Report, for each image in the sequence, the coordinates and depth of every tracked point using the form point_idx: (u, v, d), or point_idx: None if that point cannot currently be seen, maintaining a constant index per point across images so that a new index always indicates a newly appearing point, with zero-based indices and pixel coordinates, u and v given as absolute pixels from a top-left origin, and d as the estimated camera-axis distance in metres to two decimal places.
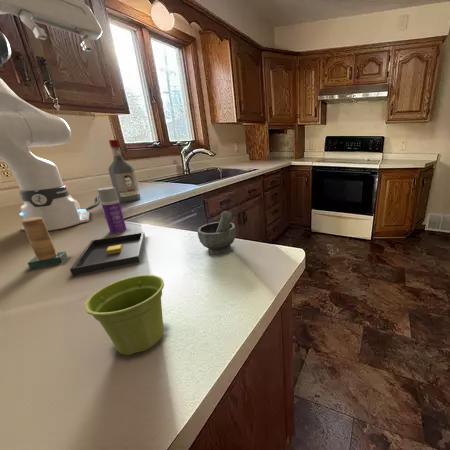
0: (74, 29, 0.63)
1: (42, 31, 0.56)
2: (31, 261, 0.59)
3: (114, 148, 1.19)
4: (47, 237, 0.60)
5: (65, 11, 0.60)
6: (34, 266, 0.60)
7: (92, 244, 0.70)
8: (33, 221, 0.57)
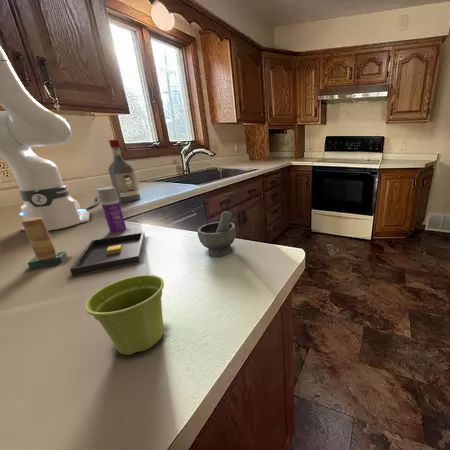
0: None
1: None
2: (31, 261, 0.59)
3: (114, 148, 1.19)
4: (47, 237, 0.60)
5: None
6: (34, 266, 0.60)
7: (92, 244, 0.70)
8: (33, 221, 0.57)
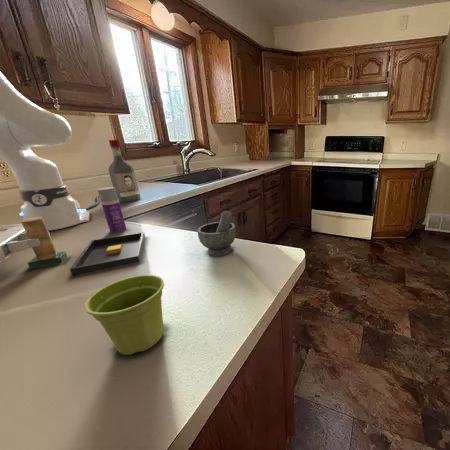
0: None
1: None
2: (31, 261, 0.59)
3: (114, 148, 1.19)
4: (47, 237, 0.60)
5: None
6: (34, 266, 0.60)
7: (92, 244, 0.70)
8: (33, 221, 0.57)
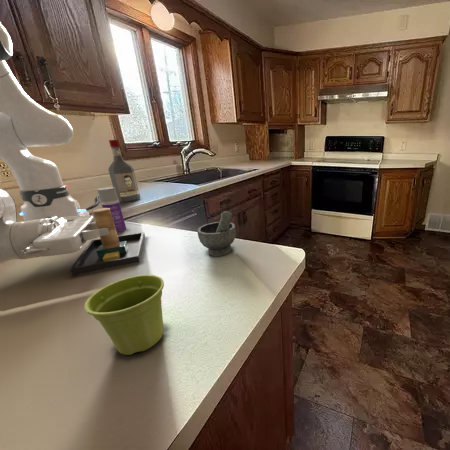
0: None
1: None
2: (99, 249, 0.63)
3: (114, 148, 1.19)
4: (113, 227, 0.64)
5: None
6: (102, 254, 0.63)
7: (92, 244, 0.70)
8: (103, 211, 0.61)
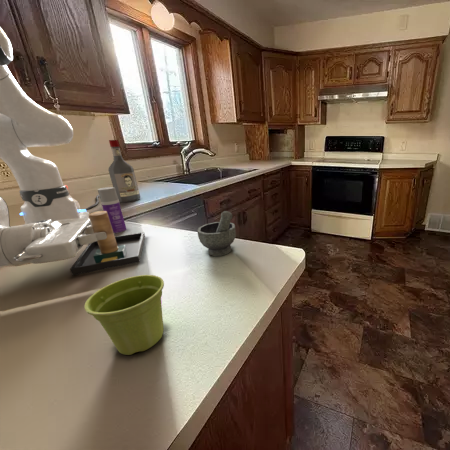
0: None
1: None
2: (96, 254, 0.60)
3: (114, 148, 1.19)
4: (111, 231, 0.60)
5: None
6: (99, 259, 0.60)
7: (92, 244, 0.70)
8: (100, 215, 0.58)
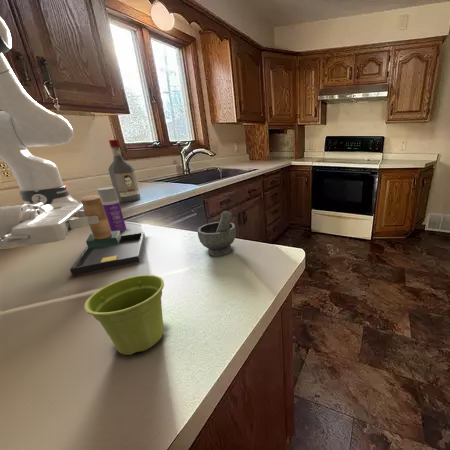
0: None
1: None
2: (89, 240, 0.58)
3: (114, 148, 1.19)
4: (104, 217, 0.58)
5: None
6: (92, 245, 0.59)
7: None
8: (92, 200, 0.55)
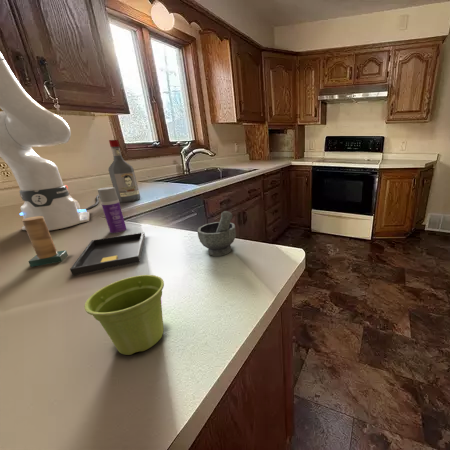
0: None
1: None
2: (32, 259, 0.60)
3: (114, 148, 1.19)
4: (47, 236, 0.61)
5: None
6: (35, 264, 0.60)
7: (92, 244, 0.70)
8: (33, 220, 0.58)
